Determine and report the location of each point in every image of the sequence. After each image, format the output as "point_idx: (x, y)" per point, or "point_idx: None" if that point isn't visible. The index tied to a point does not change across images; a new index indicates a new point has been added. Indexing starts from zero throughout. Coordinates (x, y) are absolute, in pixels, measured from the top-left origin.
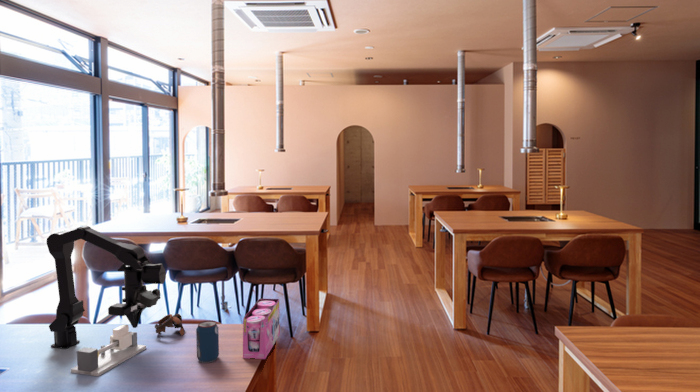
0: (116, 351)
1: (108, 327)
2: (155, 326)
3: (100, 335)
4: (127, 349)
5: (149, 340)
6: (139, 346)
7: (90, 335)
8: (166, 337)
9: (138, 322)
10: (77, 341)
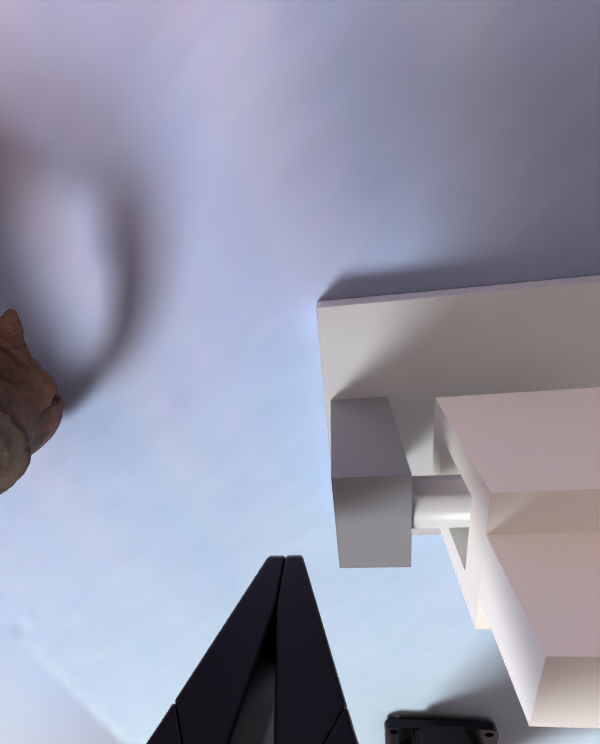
0: None
1: (156, 718)
2: (13, 468)
3: None
4: None
5: (167, 403)
6: (358, 353)
7: None
8: (37, 316)
9: (237, 608)
10: (401, 731)
